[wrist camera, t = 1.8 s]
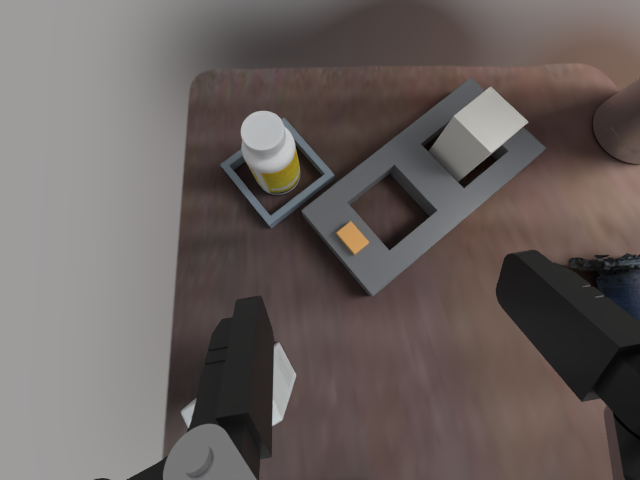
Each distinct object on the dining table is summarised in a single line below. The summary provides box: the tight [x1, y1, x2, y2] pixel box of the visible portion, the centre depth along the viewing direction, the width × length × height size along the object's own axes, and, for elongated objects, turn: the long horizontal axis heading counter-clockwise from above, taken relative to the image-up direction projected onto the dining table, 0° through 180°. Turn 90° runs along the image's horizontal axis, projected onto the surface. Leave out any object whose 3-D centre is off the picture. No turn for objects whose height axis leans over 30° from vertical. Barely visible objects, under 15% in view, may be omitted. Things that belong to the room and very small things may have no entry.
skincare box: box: [181, 342, 296, 428], centre depth 26 cm, size 6×4×12 cm
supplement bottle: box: [241, 111, 300, 195], centre depth 31 cm, size 5×5×10 cm
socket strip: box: [301, 78, 546, 296], centre depth 32 cm, size 26×12×8 cm, turn 129°
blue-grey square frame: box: [220, 118, 335, 229], centre depth 35 cm, size 10×10×2 cm
